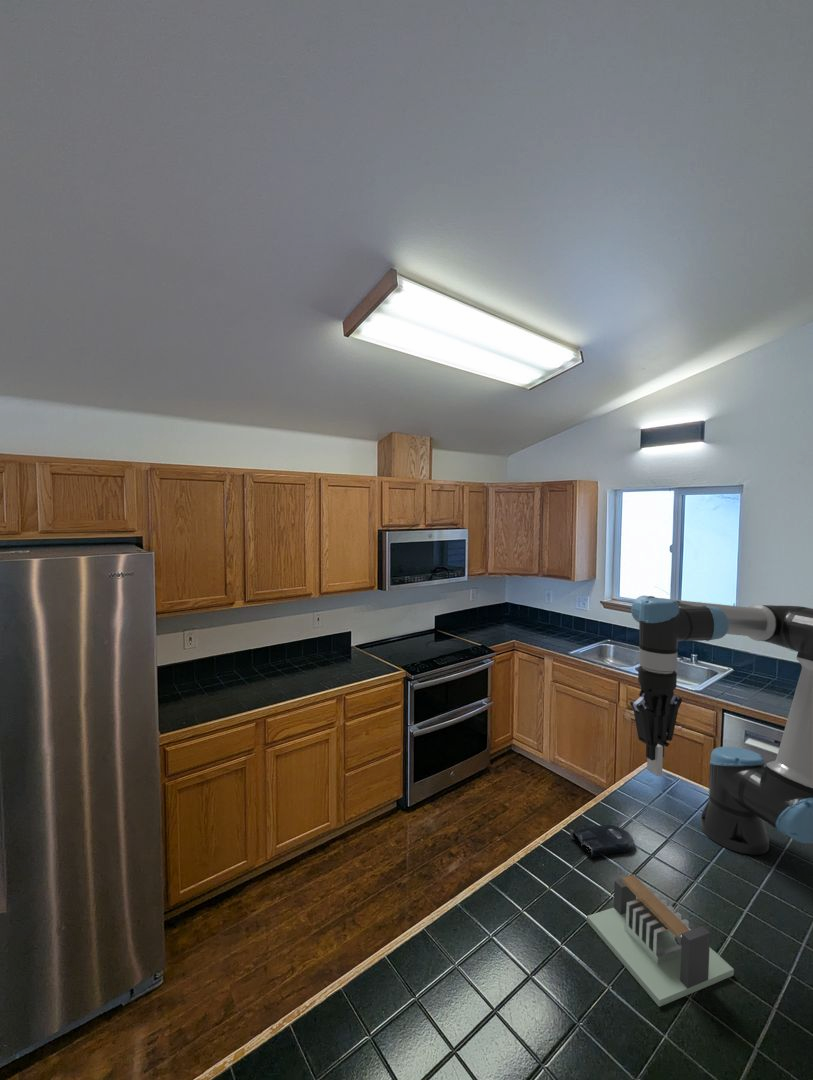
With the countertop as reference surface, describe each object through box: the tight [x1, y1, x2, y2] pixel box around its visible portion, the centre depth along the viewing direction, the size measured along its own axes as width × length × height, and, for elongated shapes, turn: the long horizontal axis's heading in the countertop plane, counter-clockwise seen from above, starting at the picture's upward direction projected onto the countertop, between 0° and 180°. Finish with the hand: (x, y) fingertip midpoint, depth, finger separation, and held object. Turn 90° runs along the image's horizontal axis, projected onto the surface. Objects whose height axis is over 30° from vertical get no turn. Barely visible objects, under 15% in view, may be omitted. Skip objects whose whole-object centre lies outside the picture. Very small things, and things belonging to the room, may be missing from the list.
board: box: [586, 878, 735, 1008], centre depth 91 cm, size 18×18×10 cm
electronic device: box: [569, 824, 635, 858], centre depth 120 cm, size 9×6×15 cm
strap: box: [621, 874, 690, 945], centre depth 91 cm, size 4×15×1 cm, turn 19°
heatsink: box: [624, 892, 690, 965], centre depth 91 cm, size 8×8×6 cm
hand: (654, 772), depth 103 cm, fingers closed
